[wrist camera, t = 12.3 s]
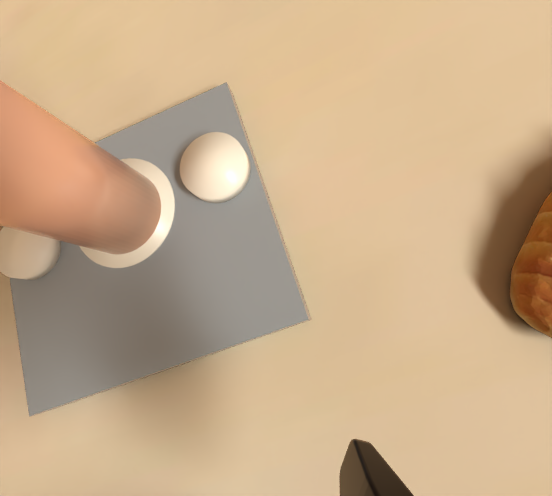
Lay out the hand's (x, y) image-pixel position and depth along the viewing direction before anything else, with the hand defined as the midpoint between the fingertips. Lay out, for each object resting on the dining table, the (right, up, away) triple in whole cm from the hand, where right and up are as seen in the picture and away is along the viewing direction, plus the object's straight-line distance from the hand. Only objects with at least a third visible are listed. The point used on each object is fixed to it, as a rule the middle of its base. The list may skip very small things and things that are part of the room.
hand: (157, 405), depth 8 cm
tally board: (-5, +4, +13) cm, 14 cm away
